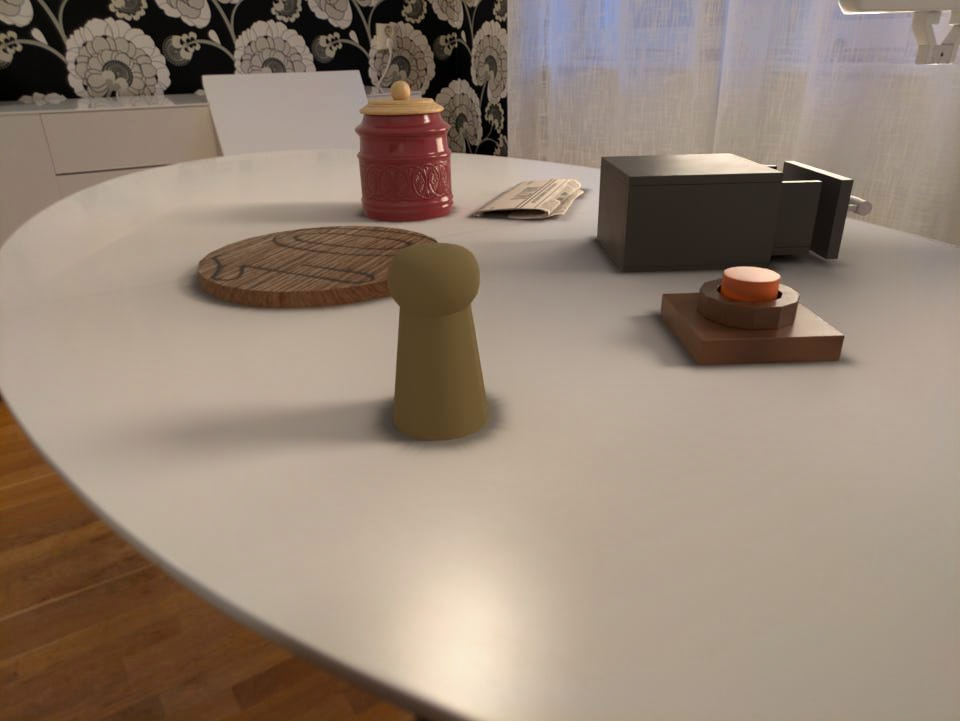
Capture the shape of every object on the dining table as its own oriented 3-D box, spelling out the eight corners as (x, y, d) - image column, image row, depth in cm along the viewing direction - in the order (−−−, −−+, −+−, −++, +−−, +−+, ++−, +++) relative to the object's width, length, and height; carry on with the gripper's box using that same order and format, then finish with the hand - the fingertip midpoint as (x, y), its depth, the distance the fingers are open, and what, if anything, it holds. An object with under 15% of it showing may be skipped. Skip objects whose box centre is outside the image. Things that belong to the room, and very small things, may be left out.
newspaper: (562, 224, 88) (561, 205, 87) (475, 228, 93) (473, 210, 92) (593, 191, 108) (592, 175, 107) (520, 196, 112) (518, 180, 111)
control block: (777, 315, 57) (785, 270, 55) (838, 365, 48) (850, 312, 46) (659, 319, 56) (664, 273, 55) (698, 370, 47) (705, 317, 46)
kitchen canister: (386, 229, 88) (374, 83, 81) (348, 212, 98) (335, 81, 91) (470, 216, 94) (467, 79, 87) (427, 201, 104) (420, 78, 97)
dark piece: (817, 228, 80) (830, 160, 76) (878, 258, 68) (896, 178, 65) (668, 233, 79) (675, 164, 76) (704, 263, 68) (714, 183, 64)
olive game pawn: (372, 423, 41) (354, 249, 37) (442, 389, 45) (434, 228, 41) (440, 458, 38) (429, 269, 33) (510, 418, 42) (509, 244, 37)
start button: (763, 287, 52) (767, 265, 52) (786, 304, 49) (790, 281, 48) (712, 288, 52) (715, 266, 52) (731, 306, 49) (734, 283, 48)
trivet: (373, 325, 57) (371, 303, 56) (143, 296, 65) (139, 277, 64) (477, 249, 78) (476, 233, 77) (294, 235, 86) (292, 220, 85)
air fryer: (719, 238, 80) (730, 153, 76) (768, 272, 68) (784, 172, 64) (596, 241, 80) (601, 156, 76) (622, 276, 67) (629, 176, 63)
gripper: (1058, -97, 64) (1013, 62, 70) (846, -94, 63) (818, 65, 69) (1117, -112, 58) (1062, 62, 64) (884, -109, 58) (850, 66, 63)
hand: (933, 64), depth 67 cm, fingers closed
